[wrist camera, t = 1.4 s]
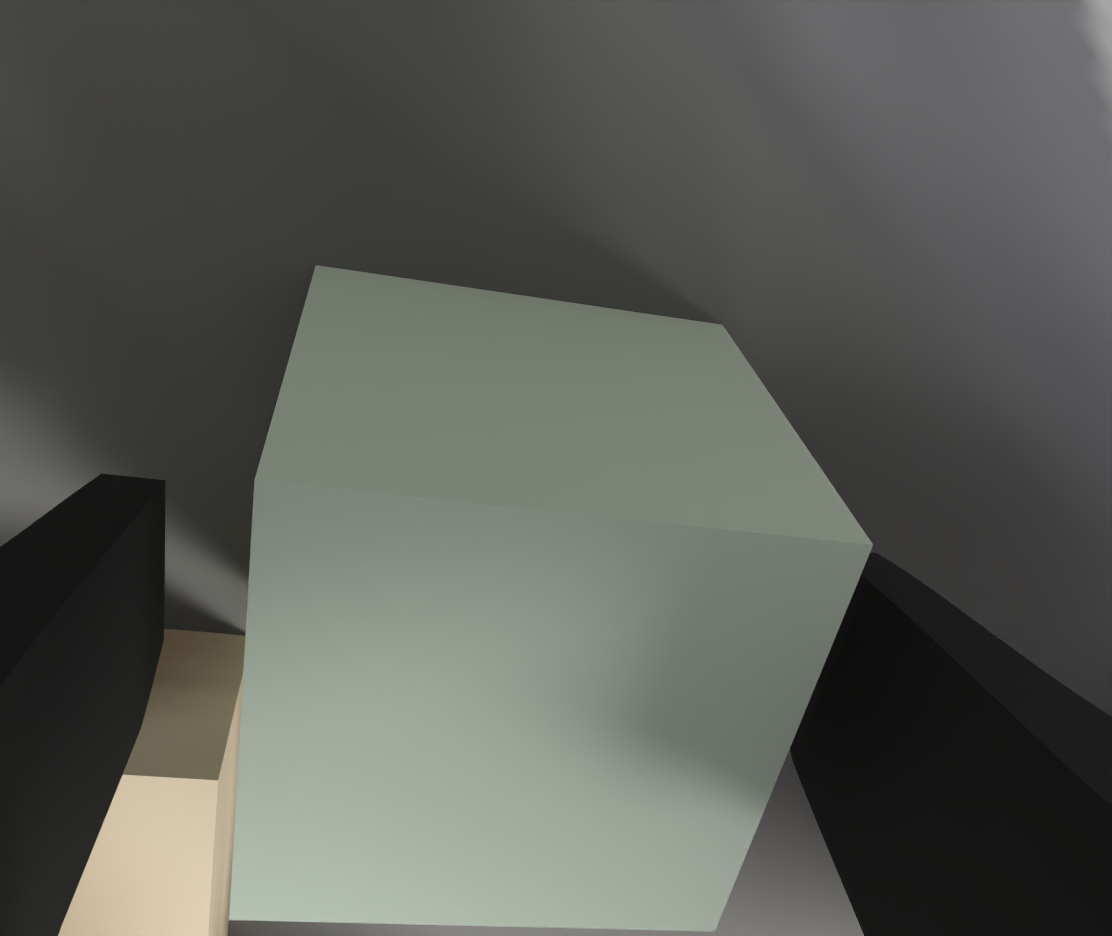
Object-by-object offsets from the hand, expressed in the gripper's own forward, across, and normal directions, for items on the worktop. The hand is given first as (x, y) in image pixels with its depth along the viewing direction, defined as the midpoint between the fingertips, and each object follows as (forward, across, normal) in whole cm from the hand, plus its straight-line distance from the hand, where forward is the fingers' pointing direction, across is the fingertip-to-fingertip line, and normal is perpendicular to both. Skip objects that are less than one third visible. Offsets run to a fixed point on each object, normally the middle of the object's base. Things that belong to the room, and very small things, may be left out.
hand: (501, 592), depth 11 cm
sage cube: (+3, 0, 0) cm, 3 cm away
